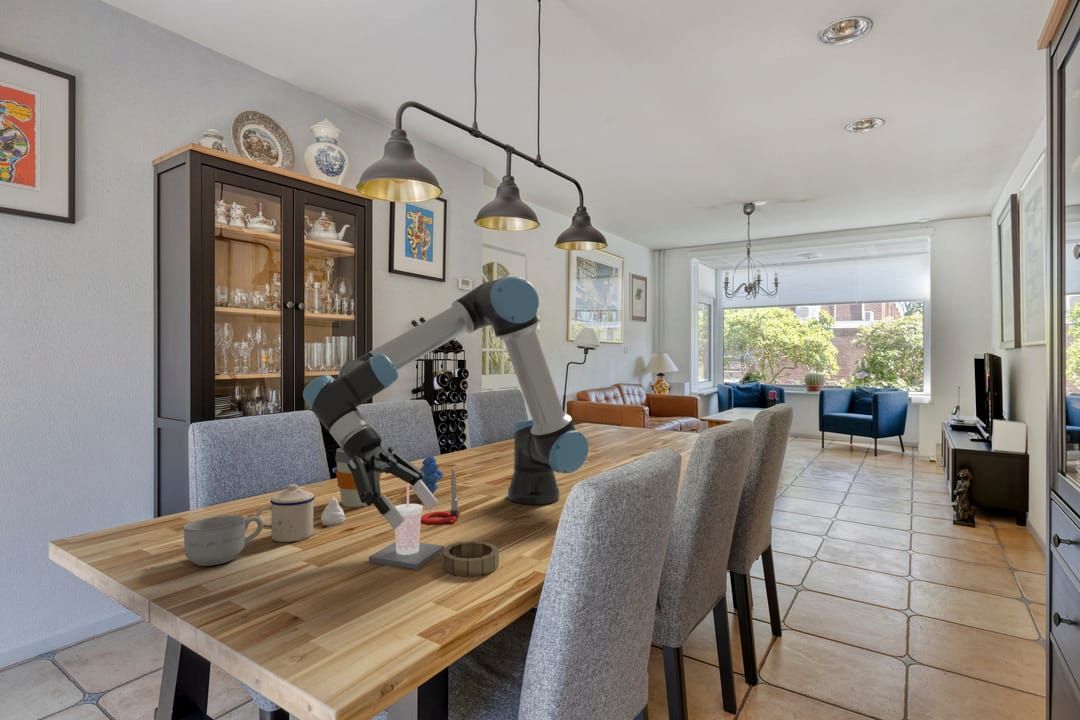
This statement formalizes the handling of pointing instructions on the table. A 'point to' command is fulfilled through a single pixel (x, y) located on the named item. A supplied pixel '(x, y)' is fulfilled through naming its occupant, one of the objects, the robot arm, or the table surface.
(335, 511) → the white meringue swirl
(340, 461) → the reusable coffee cup
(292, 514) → the teacup with lid
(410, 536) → the beverage cup
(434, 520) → the tow hook
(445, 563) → the stone block ring
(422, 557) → the coaster
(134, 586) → the table surface
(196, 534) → the teacup
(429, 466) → the grapes
